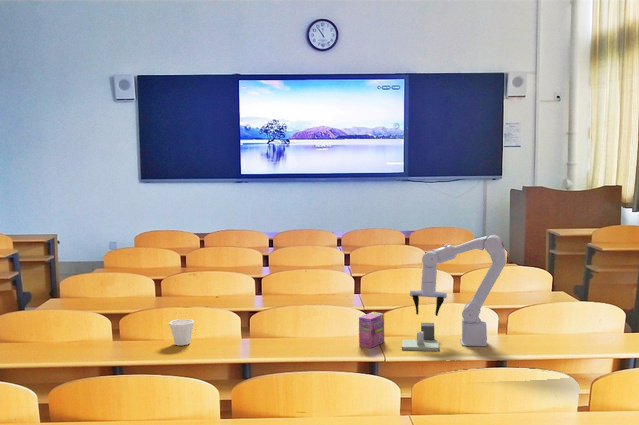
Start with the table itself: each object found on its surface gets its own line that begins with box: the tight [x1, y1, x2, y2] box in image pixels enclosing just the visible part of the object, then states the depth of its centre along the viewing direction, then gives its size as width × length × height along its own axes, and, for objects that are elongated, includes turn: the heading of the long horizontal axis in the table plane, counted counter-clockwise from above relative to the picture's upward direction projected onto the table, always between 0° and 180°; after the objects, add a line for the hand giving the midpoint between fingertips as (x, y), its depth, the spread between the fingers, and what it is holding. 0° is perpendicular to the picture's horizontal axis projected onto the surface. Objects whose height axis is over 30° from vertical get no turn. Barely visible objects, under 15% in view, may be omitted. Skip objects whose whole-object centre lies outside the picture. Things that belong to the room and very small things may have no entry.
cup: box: [168, 318, 195, 347], centre depth 255 cm, size 10×10×9 cm
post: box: [416, 330, 424, 345], centre depth 244 cm, size 3×3×4 cm
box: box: [358, 311, 385, 349], centre depth 249 cm, size 10×6×12 cm, turn 143°
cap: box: [420, 322, 435, 340], centre depth 253 cm, size 5×5×7 cm
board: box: [401, 339, 440, 352], centre depth 245 cm, size 14×10×1 cm
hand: (426, 314), depth 252 cm, fingers open, 7 cm apart
